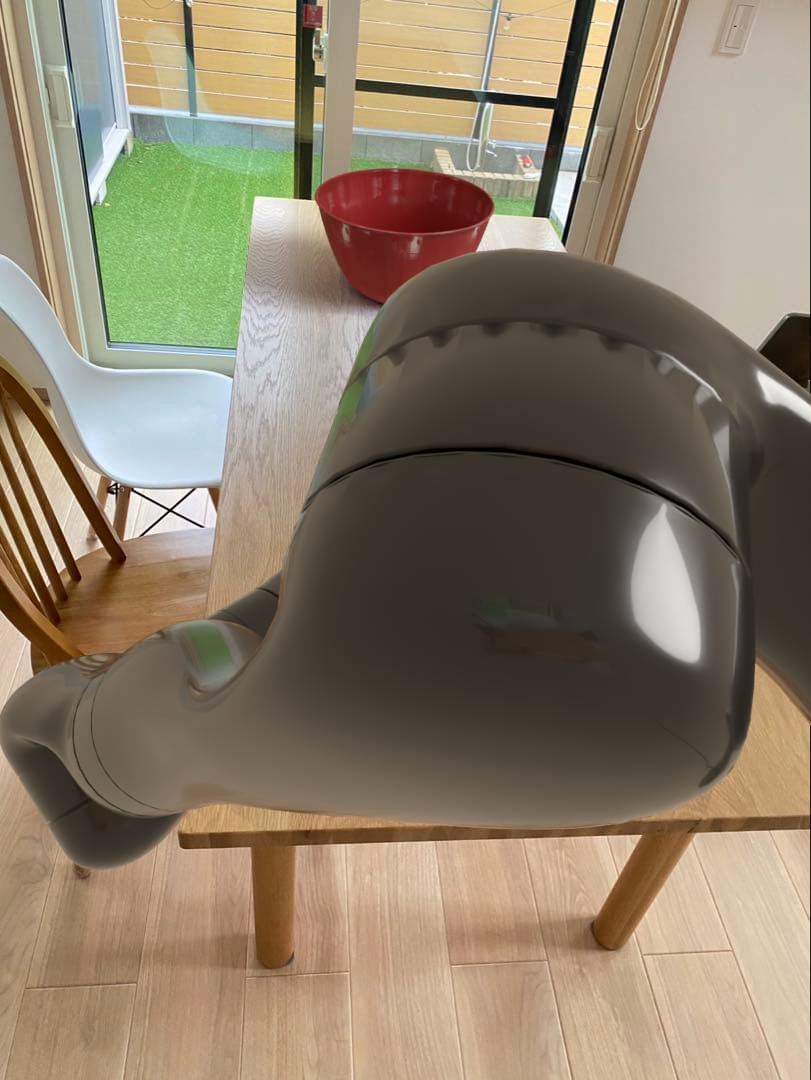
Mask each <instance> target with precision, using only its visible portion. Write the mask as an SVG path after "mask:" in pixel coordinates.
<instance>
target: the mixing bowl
mask: <svg viewBox="0 0 811 1080" xmlns="http://www.w3.org/2000/svg"><path fill="white" fill-rule="evenodd" d="M314 200H315V203H316V204H317V206H318V210H319V214H320V218H321V221H322V225H323V228H324V232H325V235H326V238H327V241H328V245H329V247H330V248H331V249H330V250H331V252H332V254H333V256H334V258H335V260H336V263H337V265H338V267H339V269H340V271H341V272H342V274H343V276H344V277H345V279H346V280H347V281H348V283H349V284H350V285H351V286H352V287H353V289H355V290H356V291H358V292H359V293H360V294H362V295H363V296H365V297H367V298H368V297H369V298H368V299H370V298H371V299H373V300H375V301H377V302H376V303H378V302H379V304H381V303H382V304H381V305H384V303H385V302H386V301H387V299H388V298H389V297H390V296H391V295H392V294H393V293H394V292H395V291H396V290H397V289H398V288H399V287H400V286H401V285H402V284H404V283H405V282H406V281H408V280H409V279H411V278H412V277H414V276H415V275H417V274H419V273H420V272H422V271H423V270H425V269H427V268H428V267H430V266H431V265H434V264H437V263H440V262H443V261H446V260H449V259H452V258H455V257H458V256H461V255H464V254H467V253H471V252H477V251H478V249H479V246H480V245H481V242H482V240H483V238H484V235H485V232H486V230H487V228H488V224H489V223H490V220H491V218H492V216H493V215H494V214H495V213H494V212H495V209H496V205H495V204H496V203H495V201H494V199H493V197H492V196H491V195H490V194H489V193H488V192H487V191H486V190H484V189H483V188H482V187H481V186H478V185H477V184H475V183H473V182H470V181H469V180H466V179H463V178H460V177H457V176H455V175H450V174H446V173H442V172H435V171H432V170H426V169H425V170H424V169H416V168H402V167H380V168H369V169H368V168H367V169H359V170H353V171H349V172H345V173H342V174H338V175H335V176H333V177H331V178H329V179H327V180H325V181H323V182H322V183H320V185H319V186H318V187H317V189H316V191H315V193H314ZM371 299H370V300H371ZM373 300H372V301H373ZM375 301H374V302H375Z"/></svg>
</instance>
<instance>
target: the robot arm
mask: <svg viewBox="0 0 811 1080" xmlns="http://www.w3.org/2000/svg"><path fill="white" fill-rule="evenodd" d="M354 359H355V360H354V362H353V365H352V367H351V370H350V373H349V376H348V378H347V381H346V383H345V386H344V388H343V391H342V394H341V397H340V399H339V402H338V406H337V410H336V414H335V416H334V419H333V421H332V423H331V426H330V430H329V432H328V435H327V438H326V440H325V442H324V443H325V444H324V446H323V448H322V451H321V453H320V458H319V460H318V463H317V465H316V468H315V471H314V474H313V477H312V479H311V482H310V486H309V487H308V490H307V494H306V496H305V499H304V501H303V503H302V504H303V505H302V507H301V510H300V513H299V516H298V518H297V521H296V522H295V525H294V526H293V531H292V534H291V537H290V540H289V542H288V544H287V548H286V550H285V554H284V558H283V563H282V566H281V569H280V570H279V571H278V572H276V573H275V574H274V575H272V576H271V577H270V578H268V579H267V580H266V581H265V582H263V583H262V584H261V585H259V586H258V587H256V588H255V589H253V590H251V591H249V592H248V593H246V594H244V595H242V596H240V597H239V598H237V599H235V600H234V601H232V602H230V603H229V604H227V605H225V606H223V607H221V608H219V609H218V610H217V611H215V612H213V613H211V614H209V615H208V616H206V617H204V618H203V619H190V620H186V621H181V622H178V623H175V624H174V623H173V624H171V625H167V626H164V627H162V628H160V629H158V630H156V631H154V632H152V633H150V634H147V635H146V636H144V637H142V639H140V640H138V641H136V642H135V643H134V644H132V645H131V646H129V648H127V649H126V650H125V651H123V652H99V653H92V654H85V655H81V656H77V657H73V658H70V659H66V660H64V661H60V662H58V663H56V664H53V665H52V666H49V667H47V668H45V669H44V670H42V671H40V672H38V673H36V674H35V675H33V676H31V677H30V678H29V679H28V680H26V681H24V683H23V684H21V685H20V686H19V687H17V689H16V690H14V691H13V693H12V694H10V697H9V698H8V700H6V701H5V703H4V705H3V707H2V709H1V711H0V748H1V751H2V753H3V756H4V758H5V759H6V761H7V763H8V764H9V766H10V768H11V770H12V771H13V772H14V774H15V775H16V777H18V780H19V782H20V783H21V785H22V787H23V788H24V790H25V792H26V793H27V794H28V797H29V798H30V799H31V801H32V802H33V805H34V806H35V808H36V809H37V811H38V813H39V814H40V816H41V817H42V819H43V821H44V823H47V827H48V829H49V830H50V832H51V834H52V835H53V837H54V839H55V841H56V843H57V844H58V845H59V847H60V849H62V851H63V853H64V855H65V856H66V857H67V858H68V859H69V860H70V861H71V862H72V863H73V864H75V865H76V866H78V867H80V868H82V869H86V870H91V871H106V870H112V869H113V870H114V869H118V868H121V867H124V866H127V865H129V864H132V863H134V862H135V861H138V860H140V859H141V858H142V857H144V856H145V855H147V854H149V853H150V852H151V851H152V850H154V849H155V848H156V847H157V846H158V845H159V844H161V843H162V842H163V841H164V840H165V839H166V838H167V836H168V835H170V833H171V832H173V830H174V829H175V828H176V827H177V826H178V825H179V823H180V822H181V821H182V820H183V819H184V817H185V816H186V815H187V814H188V812H190V811H194V810H198V809H202V808H207V807H211V806H217V805H219V806H220V805H222V806H223V805H233V806H240V807H249V808H256V809H261V810H262V809H264V810H269V811H276V812H277V811H278V812H287V813H295V814H296V813H297V814H302V815H303V814H304V815H314V816H326V817H335V818H337V817H338V818H350V819H361V820H374V821H386V822H398V823H408V824H419V825H433V826H446V827H461V828H474V829H475V828H476V829H489V830H491V829H492V830H533V831H537V830H539V831H541V830H572V829H586V828H593V827H594V828H595V827H602V826H603V827H604V826H612V825H619V824H625V823H629V822H633V821H638V820H641V819H646V818H650V817H654V816H658V815H662V814H666V813H667V812H669V811H672V810H675V809H678V808H680V807H682V806H685V805H687V804H689V803H690V802H693V801H695V800H696V799H698V798H700V797H702V796H704V795H706V794H708V793H709V792H710V791H711V790H713V789H714V788H715V787H717V786H718V785H719V784H721V783H722V782H723V781H724V780H725V779H726V777H727V776H728V775H729V774H730V773H731V772H732V770H734V767H736V764H737V762H738V761H739V758H740V757H741V754H742V752H743V748H744V746H745V743H746V740H747V738H748V734H749V729H750V726H751V721H752V712H753V703H754V693H755V680H756V665H757V666H758V667H759V668H760V669H761V670H762V671H763V673H765V674H766V675H767V676H768V678H770V680H771V681H773V682H774V683H775V684H776V686H777V687H779V688H780V690H781V692H783V693H784V695H785V696H786V697H787V698H788V700H790V702H791V703H792V704H793V706H794V707H795V708H796V709H797V710H798V712H799V713H800V714H801V715H802V717H803V718H804V719H805V720H806V721H807V723H808V724H809V725H810V726H811V393H810V392H809V391H807V390H806V389H805V388H804V387H802V386H801V384H799V383H797V382H796V381H795V380H794V379H793V378H791V377H790V376H789V375H788V374H786V373H785V372H783V370H781V369H780V368H779V367H777V366H776V365H775V364H774V363H772V362H771V361H770V360H769V359H768V358H766V357H765V356H764V355H763V354H762V353H760V352H759V351H758V350H757V349H755V348H753V347H752V346H751V345H749V344H748V342H746V341H744V340H743V339H742V338H740V337H739V336H738V335H736V334H735V333H734V332H732V331H731V330H730V329H729V328H728V327H726V326H725V325H723V324H722V323H720V321H718V320H716V319H715V317H712V315H710V314H708V313H707V312H706V311H704V310H703V309H701V308H700V307H698V306H697V305H695V304H694V303H692V302H691V301H689V300H688V299H686V298H684V297H682V296H680V295H678V294H677V293H675V292H673V291H672V290H670V289H668V288H666V287H663V286H661V285H660V284H657V283H656V282H653V281H651V280H649V279H646V278H645V277H642V276H641V275H639V274H637V273H634V272H632V271H630V270H628V269H626V268H623V267H620V266H616V265H613V264H611V263H607V262H603V261H599V260H596V259H592V258H588V257H585V256H581V255H577V254H574V253H570V252H566V251H558V250H547V249H533V248H522V247H511V248H500V249H499V248H498V249H489V250H477V251H476V252H471V253H467V254H464V255H461V256H458V257H455V258H452V259H449V260H446V261H443V262H440V263H437V264H434V265H431V266H430V267H428V268H427V269H425V270H423V271H422V272H420V273H419V274H417V275H415V276H414V277H412V278H411V279H409V280H408V281H406V282H405V283H404V284H402V285H401V286H400V287H399V288H398V289H397V290H396V291H395V292H394V293H393V294H392V295H391V296H390V297H389V298H388V299H387V301H386V302H385V303H384V304H382V306H381V307H380V309H379V310H378V312H377V314H376V316H375V317H374V319H373V320H372V322H371V324H370V326H369V328H368V330H367V332H366V333H365V336H364V338H363V340H362V342H361V344H360V347H359V349H358V352H357V354H356V357H355V358H354Z"/></svg>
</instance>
